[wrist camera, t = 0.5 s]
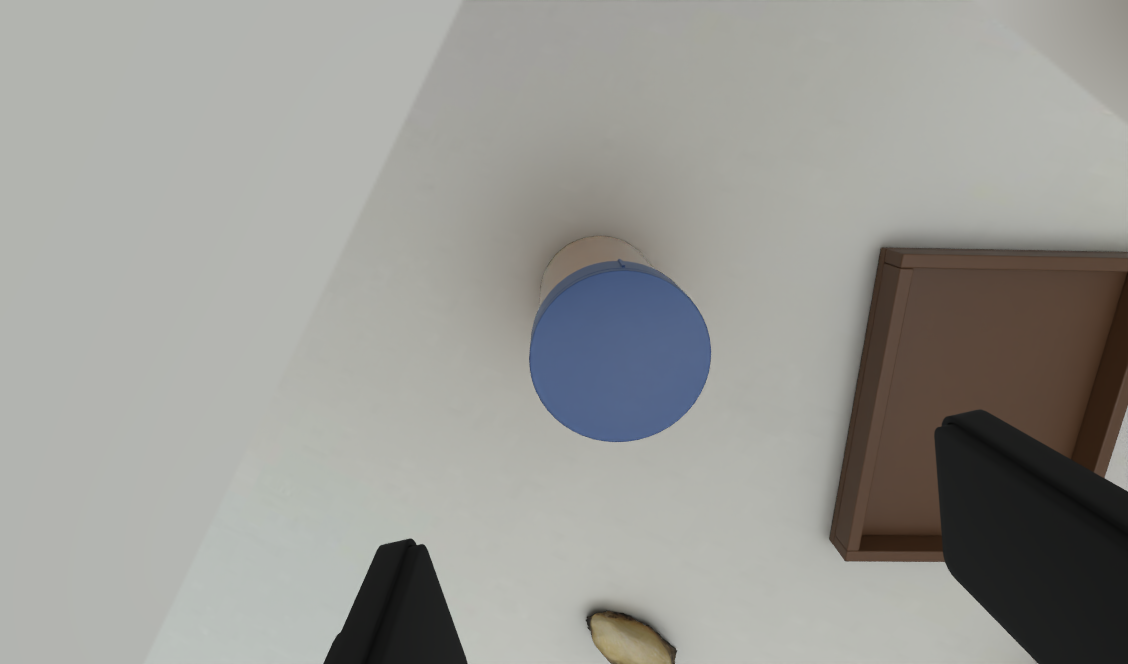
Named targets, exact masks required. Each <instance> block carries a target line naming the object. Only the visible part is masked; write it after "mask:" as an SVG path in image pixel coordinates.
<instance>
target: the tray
mask: <svg viewBox="0 0 1128 664" xmlns="http://www.w3.org/2000/svg"><path fill="white" fill-rule="evenodd" d="M1127 406H1128V252H1097V251H1045V250H993V249H940V248H888V247H882V248H881V252H880V258H879V264H878V269H877V275H876V281H875V286H874V292H873V298H872V303H871V309H870V314H869V320H868V326H867V331H866V337H865V343H864V348H863V354H862V359H861V365H860V371H859V376H858V382H857V388H856V393H855V399H854V405H853V410H852V416H851V421H850V427H849V433H848V438H847V444H846V450H845V455H844V461H843V467H842V472H841V478H840V483H839V489H838V495H837V500H836V506H835V512H834V517H833V523H832V529H831V534H830V541H831V542H832V544H833V545H834V546H835V548H836V549H837V551H838V552H839V553H840V555H841V556H842V557H843V559H844V560H845V561H892V562H945V560H944V556H943V546H942V533H941V519H940V506H939V493H938V479H937V466H936V453H935V440H934V432H935V430H936V428H938V427H941V426H942V421H943V419H944V418H945V417H947V416H951V415H956V414H960V413H964V412H969V411H973V410H979V409H982V410H984V411H987V412H988V413H990V414H992V415H994V416H996V417H997V418H999V419H1001V420H1003V421H1004V422H1006V423H1008V424H1010V425H1011V426H1013V427H1015V428H1017V429H1018V430H1020V431H1022V432H1024V433H1025V434H1027V435H1029V436H1031V437H1032V438H1034V439H1036V440H1038V441H1039V442H1041V443H1043V444H1045V445H1047V446H1048V447H1050V448H1052V449H1054V450H1055V451H1057V452H1059V453H1061V454H1062V455H1064V456H1066V457H1068V458H1069V459H1071V460H1073V461H1075V462H1076V463H1078V464H1080V465H1082V466H1083V467H1085V468H1087V469H1089V470H1091V471H1092V472H1094V473H1096V474H1098V475H1099V476H1101V477H1103V478H1104V477H1105V474H1106V471H1107V468H1108V465H1109V462H1110V459H1111V456H1112V452H1113V449H1114V446H1115V443H1116V440H1117V437H1118V434H1119V431H1120V428H1121V425H1122V421H1123V418H1124V415H1125V412H1126V409H1127Z"/></svg>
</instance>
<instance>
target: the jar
mask: <svg viewBox="0 0 1128 664" xmlns="http://www.w3.org/2000/svg"><path fill="white" fill-rule="evenodd" d="M618 259H621V260H622V261H629V262H635V263H639V264H643V265H646V266H648V267H651V268H653V269H655V268H654V267H653V266H652V265H651V264H650V263H649V262H648V261H647V259H646V258H645V257H644V256H643V255H642V254H641V253H640V252H639V251H638V250H637V249H636V248H634V247H633V246H631V245H630V244H628V243H626V242H624V241H622V240H619V239H617V238H612V237H607V236H592V237H586V238H583V239H579V240H577V241H575V242H572V243H570V244H569V245H567V246H566V247H564V248H563V249H562V250H560V251H559V252H558V253H557V254H556V255H555V256H554V257H553V259H552V260H551V261H550V263H549V264H548V266H547V268H546V270H545V272H544V275H543V278H542V282H541V286H540V300H539V308H540V306H541V304H542V302H543V301H544V299H545V298H546V297H547V295H548V294H549V293H550V291H551V290H552V289H553V288H554V287H555V286H556V285H557V284H558V283H559V282H561V281H562V280H563V279H564V278H566V277H567V276H569V275H570V274H572V273H573V272H575V271H577V270H579V269H582V268H584V267H586V266H589V265H592V264H596V263H601V262H606V261H618Z"/></svg>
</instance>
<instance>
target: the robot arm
mask: <svg viewBox="0 0 1128 664" xmlns="http://www.w3.org/2000/svg"><path fill="white" fill-rule="evenodd" d="M934 440H935V453H936V466H937V479H938V493H939V506H940V519H941V533H942V546H943V556H944V560H945V563H946V565H947V567H948V569H949V571H950V572H951V574H952V575H953V576H954V578H955V579H956V580H957V581H958V582H959V583H960V584H961V585H962V586H963V587H964V588H965V589H966V590H967V591H968V592H969V593H970V594H971V595H972V596H973V597H974V598H975V599H976V600H977V601H978V602H979V603H980V604H981V605H982V606H983V607H984V608H985V609H986V610H987V612H988V613H989V614H990V615H991V616H992V617H993V618H994V619H995V620H996V621H997V622H998V623H999V624H1000V625H1001V626H1002V627H1003V628H1004V629H1005V630H1006V631H1007V632H1008V633H1009V634H1010V635H1011V636H1012V637H1013V638H1014V639H1015V640H1016V641H1017V642H1018V643H1019V644H1020V645H1021V646H1022V647H1023V648H1024V649H1025V650H1026V651H1027V652H1028V653H1029V654H1030V655H1031V657H1032V658H1033V659H1034V660H1035V661H1036V662H1037V663H1038V664H1128V492H1127V491H1126V490H1124V489H1122V488H1120V487H1119V486H1117V485H1115V484H1113V483H1112V482H1110V481H1108V480H1106V479H1105V478H1103V477H1101V476H1099V475H1098V474H1096V473H1094V472H1092V471H1091V470H1089V469H1087V468H1085V467H1083V466H1082V465H1080V464H1078V463H1076V462H1075V461H1073V460H1071V459H1069V458H1068V457H1066V456H1064V455H1062V454H1061V453H1059V452H1057V451H1055V450H1054V449H1052V448H1050V447H1048V446H1047V445H1045V444H1043V443H1041V442H1039V441H1038V440H1036V439H1034V438H1032V437H1031V436H1029V435H1027V434H1025V433H1024V432H1022V431H1020V430H1018V429H1017V428H1015V427H1013V426H1011V425H1010V424H1008V423H1006V422H1004V421H1003V420H1001V419H999V418H997V417H996V416H994V415H992V414H990V413H988V412H987V411H984V410H982V409H979V410H973V411H969V412H964V413H960V414H956V415H951V416H947V417H945V418H944V419H943V421H942V426H941V427H938V428H936V430H935V432H934ZM324 664H467V660H466V657H465V654H464V651H463V648H462V645H461V643H460V640H459V637H458V634H457V631H456V629H455V626H454V623H453V620H452V617H451V615H450V612H449V609H448V606H447V603H446V600H445V598H444V595H443V592H442V589H441V586H440V584H439V581H438V578H437V575H436V572H435V570H434V567H433V564H432V561H431V558H430V555H429V553H428V550H427V548H426V546H425V545H423V544H421V545H416V543H415V541H414V540H413V539H406V540H402V541H397V542H393V543H388V544H384V545H381V546H379V548H378V549H377V552H376V554H375V556H374V558H373V561H372V563H371V565H370V567H369V570H368V572H367V574H366V577H365V579H364V581H363V583H362V586H361V588H360V590H359V592H358V595H357V597H356V599H355V601H354V604H353V606H352V608H351V611H350V613H349V615H348V617H347V620H346V622H345V624H344V626H343V629H342V631H341V633H339V634H338V635H337V637H336V638H335V640H334V641H333V643H332V646H331V648H330V650H329V652H328V655H327V657H326V659H325V661H324Z"/></svg>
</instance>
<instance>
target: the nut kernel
mask: <svg viewBox="0 0 1128 664" xmlns="http://www.w3.org/2000/svg"><path fill="white" fill-rule="evenodd" d="M587 618H588V619H587V620H586V621H587V625H588V626H589V627H587V628H588V629H589V630H590V631H591V635H592V639H593V642H594V644H595V645H596V647H597V648H598V649H599V650H600V651H601V653H602V654H603V655H604V656H605V657H606V658H607V660H608V661H609V662H610V663H611V664H675V661H674V660H675V657H676V652H677V650H676V649H675V648H673V647H671V646H670V644H669V643H668V642H666V641H665V640H663V639H661V636H660V634H658V633H657V632H655V631H653V629H652V628H651V627H650V626H649V625H644V624H643V623H642V622H637V621H636V620H635V619H634V618H632V617H631V616H628V615H626V614H624V613H616V612H611V611H607V612H603V613H596V614H594V616H591V617H587Z"/></svg>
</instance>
